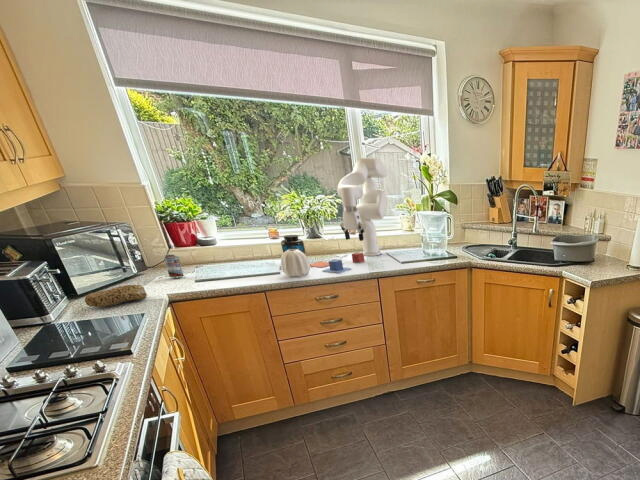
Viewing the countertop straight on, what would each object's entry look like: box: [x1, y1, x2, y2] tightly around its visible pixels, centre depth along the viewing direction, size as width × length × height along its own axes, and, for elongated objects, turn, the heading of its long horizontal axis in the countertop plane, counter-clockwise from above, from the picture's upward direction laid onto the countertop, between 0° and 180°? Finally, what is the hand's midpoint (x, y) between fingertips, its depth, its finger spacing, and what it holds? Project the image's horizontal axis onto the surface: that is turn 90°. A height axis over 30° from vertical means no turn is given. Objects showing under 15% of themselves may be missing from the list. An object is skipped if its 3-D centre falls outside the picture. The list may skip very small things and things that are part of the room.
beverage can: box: [163, 253, 185, 279], centre depth 213 cm, size 6×7×12 cm
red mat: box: [309, 261, 330, 269], centre depth 247 cm, size 11×11×1 cm
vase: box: [280, 249, 311, 277], centre depth 222 cm, size 14×14×13 cm
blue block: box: [328, 258, 344, 271], centre depth 235 cm, size 5×5×5 cm
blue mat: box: [322, 266, 352, 274], centre depth 236 cm, size 11×11×1 cm
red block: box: [351, 252, 365, 264], centre depth 255 cm, size 5×5×5 cm
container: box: [280, 234, 307, 256], centre depth 243 cm, size 12×12×16 cm
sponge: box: [84, 284, 148, 308], centre depth 177 cm, size 13×8×20 cm
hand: (354, 239), depth 249 cm, fingers open, 9 cm apart
